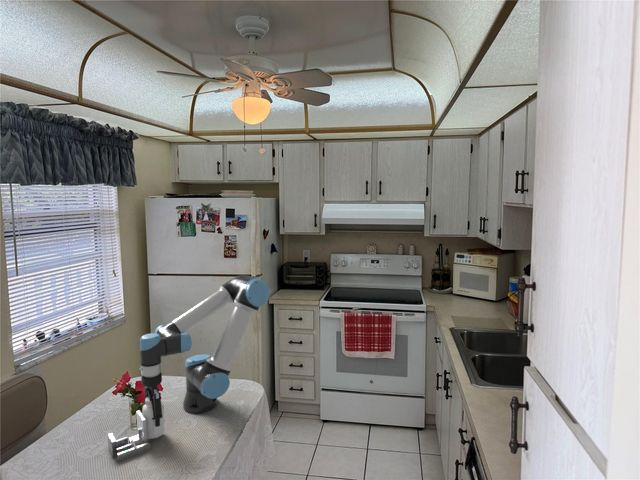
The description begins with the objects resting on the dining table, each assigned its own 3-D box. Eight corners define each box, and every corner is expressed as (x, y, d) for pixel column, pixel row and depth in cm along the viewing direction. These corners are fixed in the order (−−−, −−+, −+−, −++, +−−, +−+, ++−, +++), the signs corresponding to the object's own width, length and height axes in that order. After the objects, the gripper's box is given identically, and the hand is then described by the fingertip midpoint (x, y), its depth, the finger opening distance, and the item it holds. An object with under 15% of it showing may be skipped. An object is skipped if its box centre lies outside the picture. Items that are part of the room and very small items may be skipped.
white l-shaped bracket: (140, 434, 166) (139, 410, 165) (149, 449, 157) (148, 423, 155) (127, 439, 163) (125, 414, 162) (135, 454, 153) (133, 427, 152)
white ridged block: (142, 436, 166) (142, 422, 165) (150, 449, 157) (149, 434, 157) (108, 448, 158) (107, 433, 157) (115, 462, 150) (114, 447, 149)
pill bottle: (142, 440, 160) (140, 404, 158) (144, 429, 168) (143, 394, 166) (163, 437, 162) (162, 401, 160) (165, 426, 170) (164, 391, 168)
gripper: (134, 367, 168) (136, 420, 170) (149, 385, 152) (152, 443, 154) (153, 362, 173) (155, 414, 175) (169, 380, 156) (172, 436, 159)
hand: (153, 428), depth 165 cm, fingers closed on pill bottle, 8 cm apart
